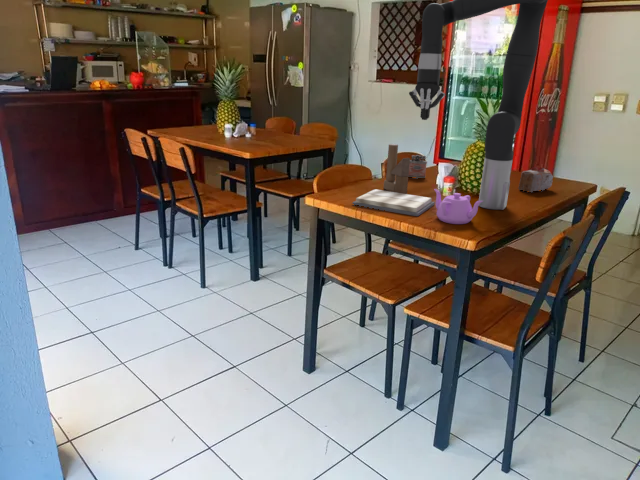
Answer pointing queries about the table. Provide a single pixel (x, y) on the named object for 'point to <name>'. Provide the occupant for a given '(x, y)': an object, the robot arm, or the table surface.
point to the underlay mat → (397, 209)
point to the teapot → (455, 208)
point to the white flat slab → (390, 202)
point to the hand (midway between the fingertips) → (424, 119)
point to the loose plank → (401, 196)
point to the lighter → (417, 167)
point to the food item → (535, 179)
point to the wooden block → (396, 172)
